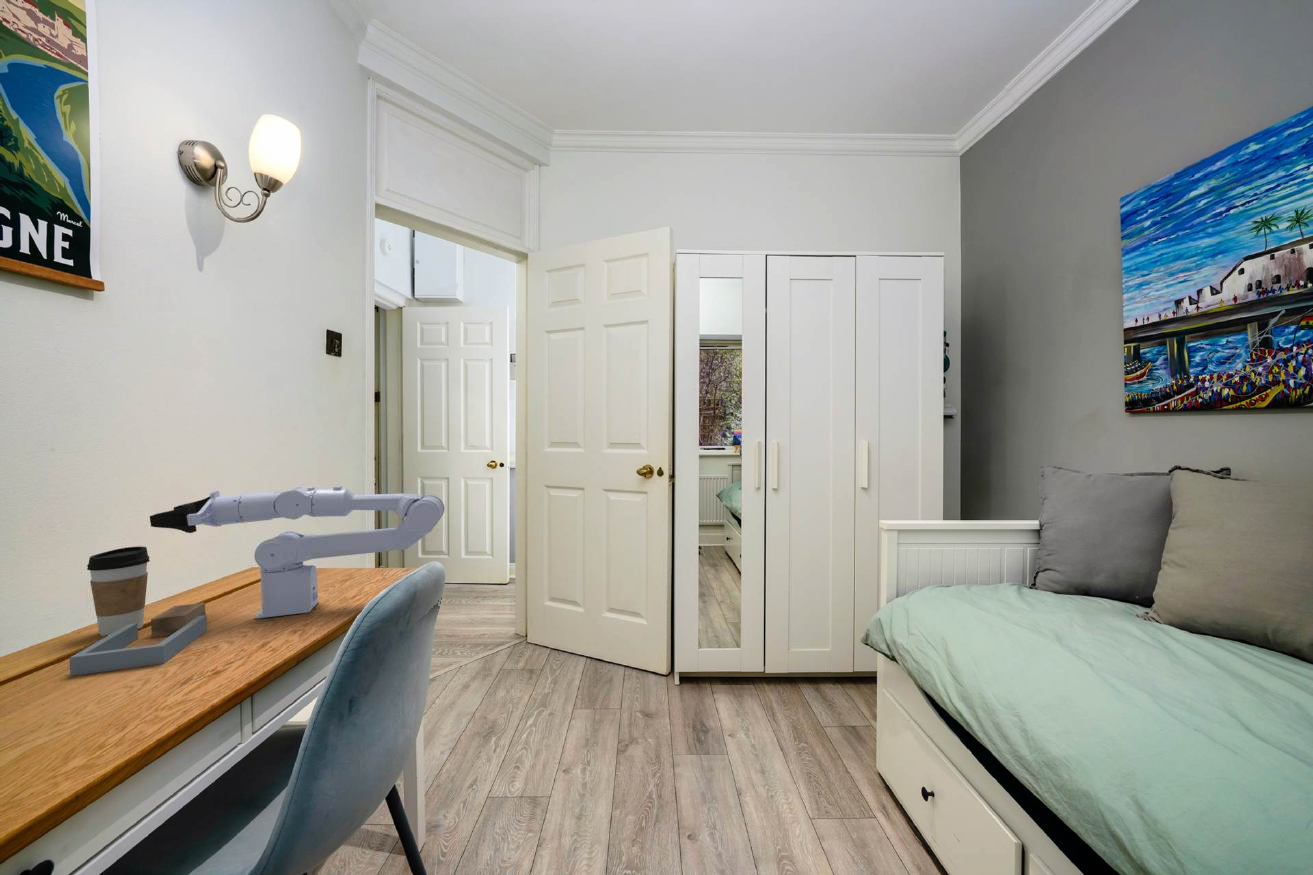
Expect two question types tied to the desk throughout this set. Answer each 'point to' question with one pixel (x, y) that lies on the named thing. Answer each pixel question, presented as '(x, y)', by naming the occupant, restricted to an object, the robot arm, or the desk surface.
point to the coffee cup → (119, 587)
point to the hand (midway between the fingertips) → (163, 516)
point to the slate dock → (133, 649)
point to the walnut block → (175, 618)
